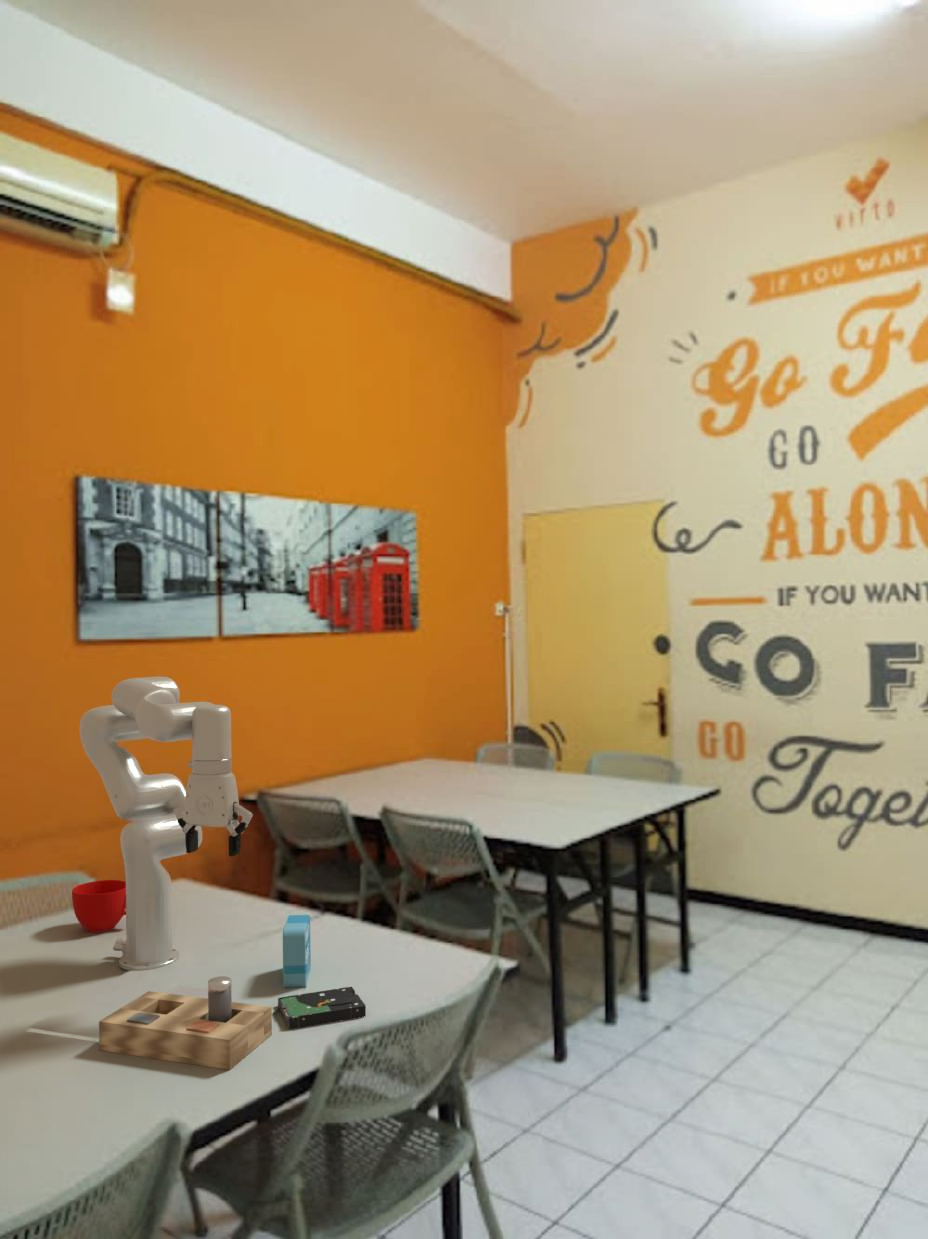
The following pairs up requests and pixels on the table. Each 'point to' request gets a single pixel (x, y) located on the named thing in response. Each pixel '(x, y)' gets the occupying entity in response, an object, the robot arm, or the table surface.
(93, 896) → the ceramic cup
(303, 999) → the disk drive
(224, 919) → the table surface
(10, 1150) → the table surface
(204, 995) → the rubber mat
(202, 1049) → the socket block
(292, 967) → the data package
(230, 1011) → the plug
